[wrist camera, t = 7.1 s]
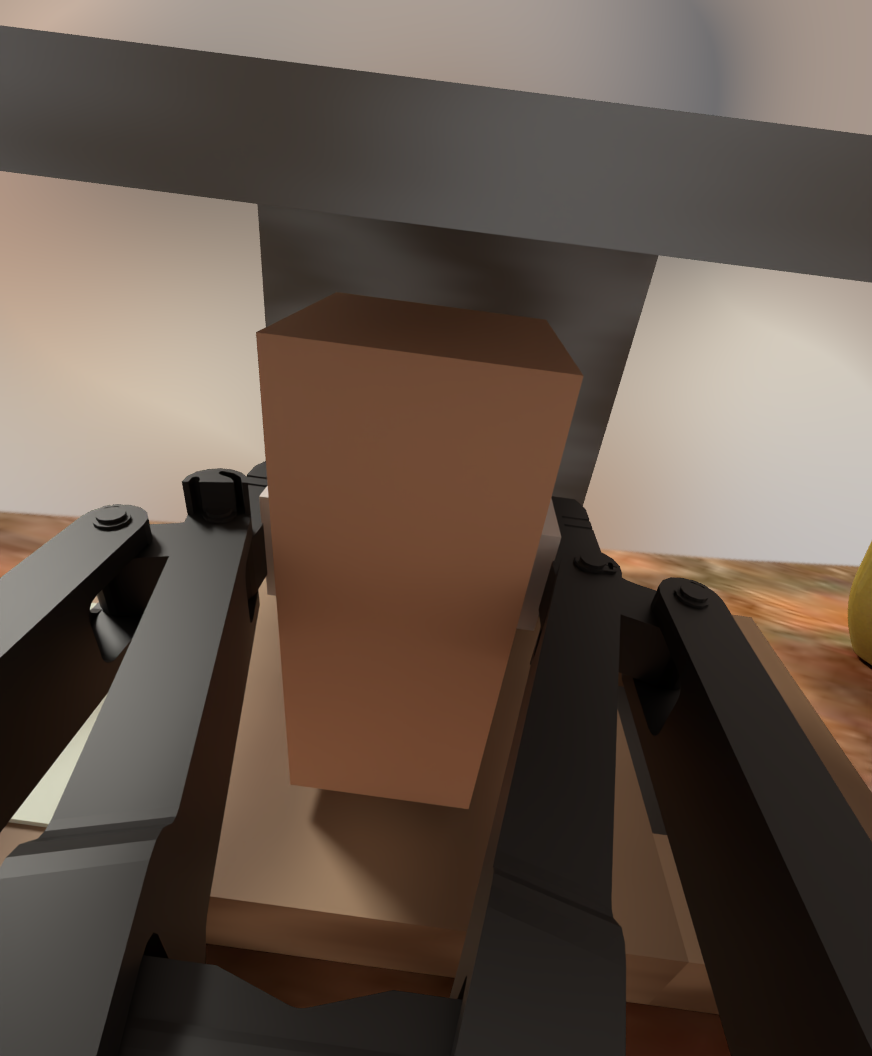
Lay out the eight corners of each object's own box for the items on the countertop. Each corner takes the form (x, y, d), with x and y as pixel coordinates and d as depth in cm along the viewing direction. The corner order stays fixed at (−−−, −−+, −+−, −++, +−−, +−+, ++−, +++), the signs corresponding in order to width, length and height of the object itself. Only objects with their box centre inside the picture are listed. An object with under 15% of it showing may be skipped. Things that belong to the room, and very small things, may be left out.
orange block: (290, 784, 14) (256, 331, 8) (334, 652, 18) (336, 292, 12) (468, 809, 14) (583, 375, 8) (471, 671, 18) (546, 319, 12)
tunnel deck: (-214, 885, 14) (-1501, -165, 4) (107, 578, 26) (-31, 122, 16) (939, 1044, 14) (2448, 334, 4) (725, 661, 26) (966, 249, 16)
